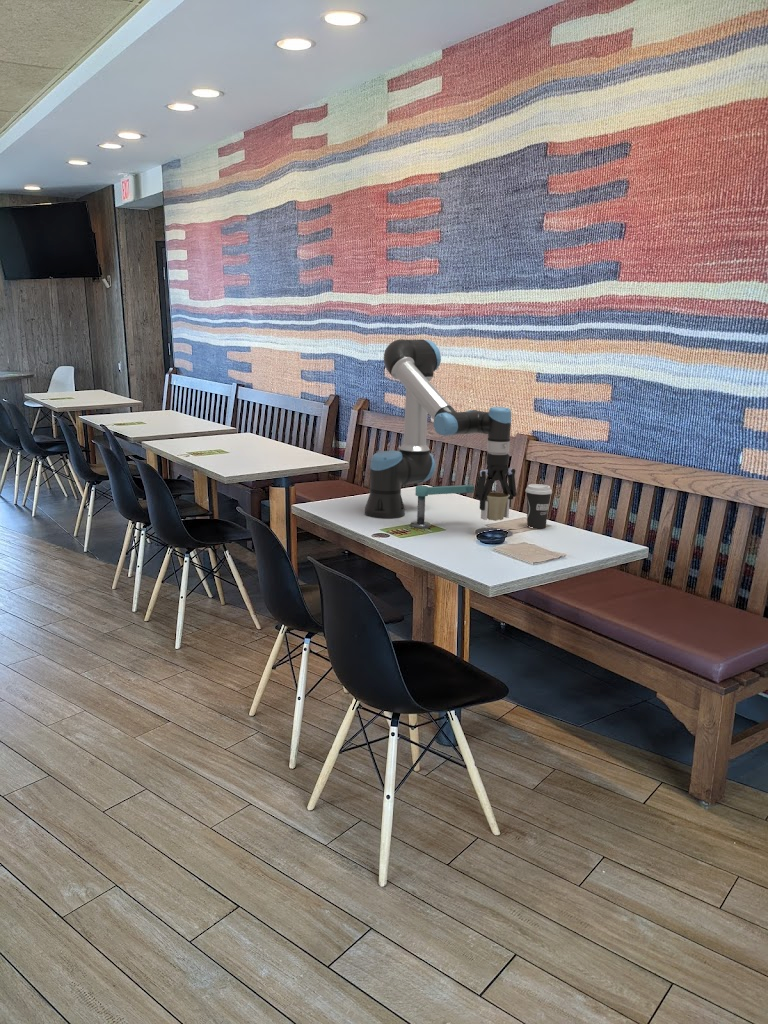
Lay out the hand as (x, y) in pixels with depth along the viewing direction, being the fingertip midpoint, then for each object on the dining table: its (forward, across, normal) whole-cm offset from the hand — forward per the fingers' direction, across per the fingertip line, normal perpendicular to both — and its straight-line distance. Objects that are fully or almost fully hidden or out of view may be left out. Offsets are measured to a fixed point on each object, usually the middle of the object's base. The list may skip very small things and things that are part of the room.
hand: (494, 518), depth 287 cm
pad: (+5, 0, 0) cm, 5 cm away
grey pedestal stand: (+5, -19, +18) cm, 27 cm away
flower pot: (+1, 0, 0) cm, 1 cm away
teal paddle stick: (-6, -10, +17) cm, 21 cm away
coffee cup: (+6, +20, +2) cm, 21 cm away
